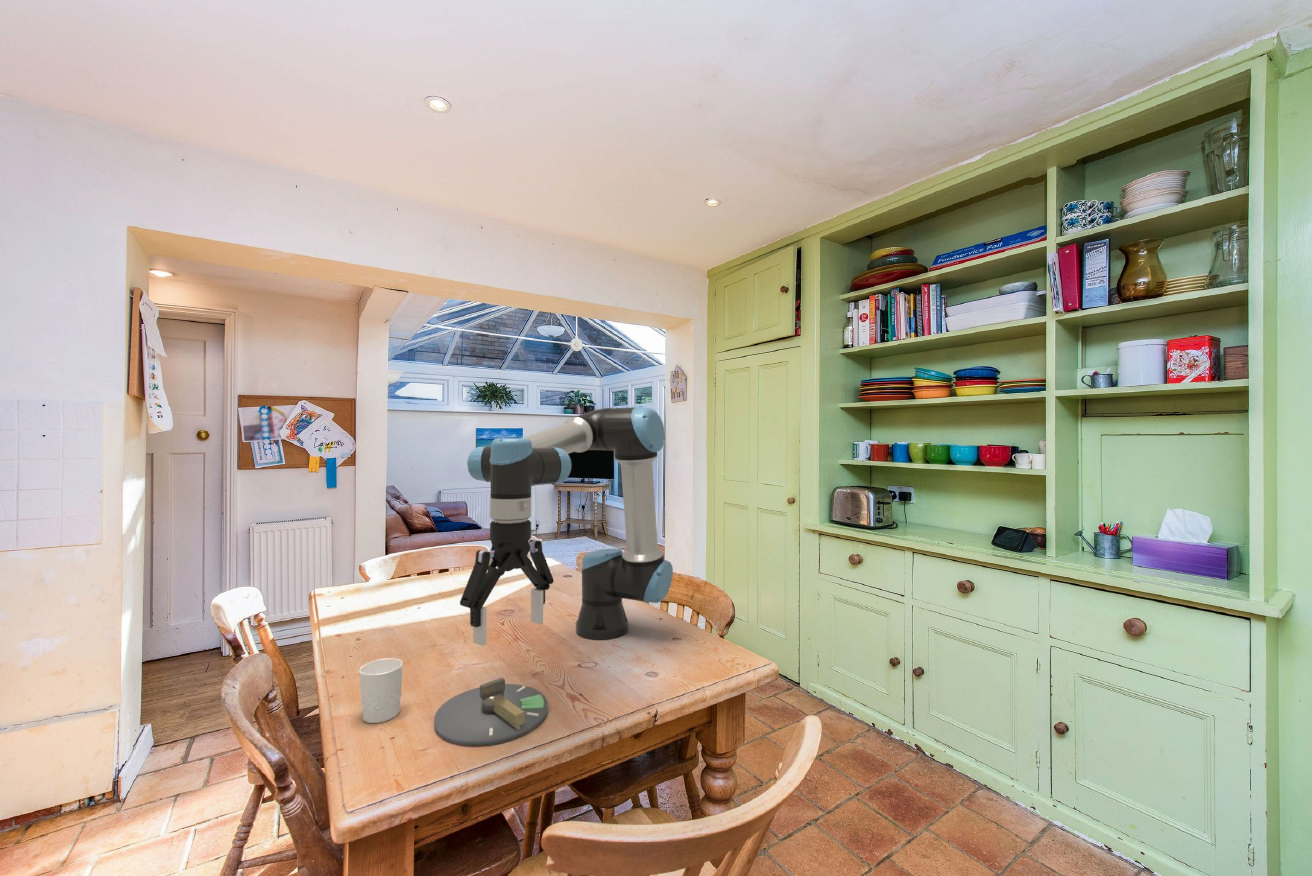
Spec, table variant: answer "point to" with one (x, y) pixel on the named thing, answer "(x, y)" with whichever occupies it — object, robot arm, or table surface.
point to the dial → (488, 717)
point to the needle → (500, 702)
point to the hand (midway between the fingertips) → (509, 632)
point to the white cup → (380, 689)
